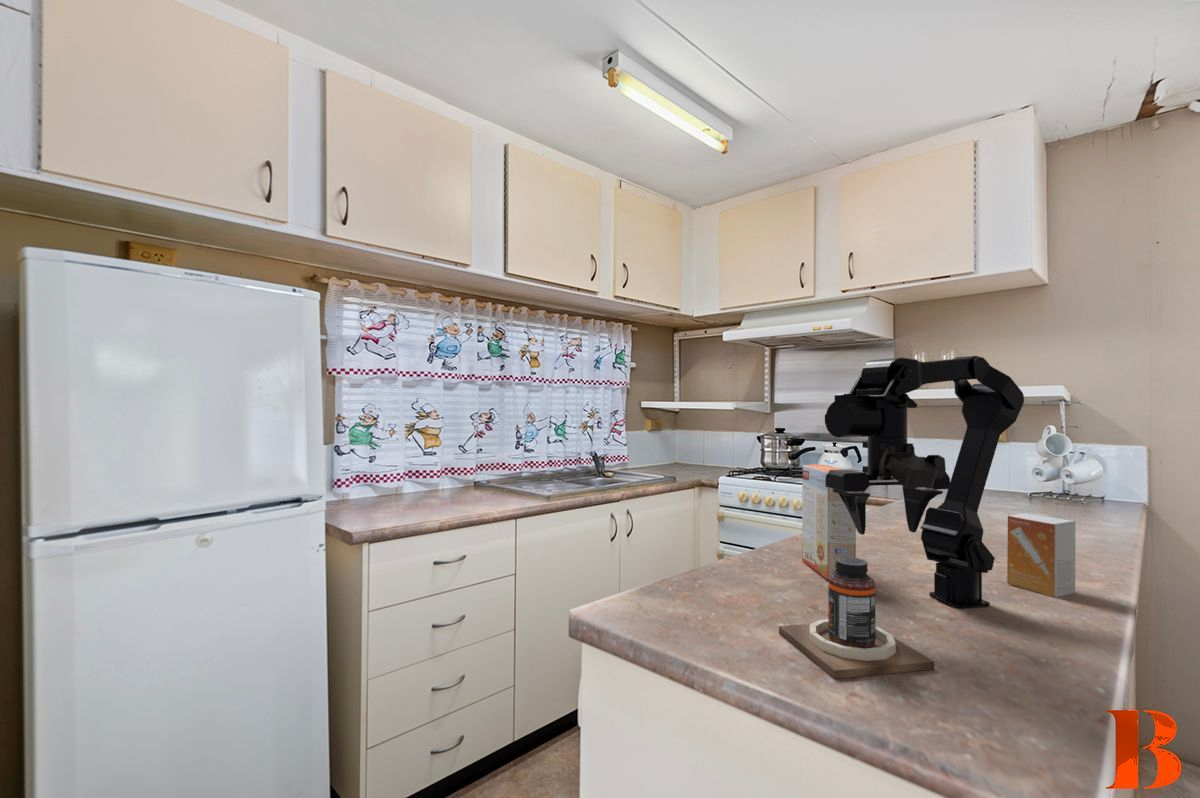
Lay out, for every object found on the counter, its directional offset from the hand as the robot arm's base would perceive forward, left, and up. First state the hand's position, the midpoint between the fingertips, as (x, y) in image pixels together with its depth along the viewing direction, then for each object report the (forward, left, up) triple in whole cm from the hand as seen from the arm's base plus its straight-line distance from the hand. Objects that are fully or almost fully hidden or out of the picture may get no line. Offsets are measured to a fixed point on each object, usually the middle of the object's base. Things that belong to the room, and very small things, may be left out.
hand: (887, 533), depth 91 cm
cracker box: (-4, -23, -13) cm, 27 cm away
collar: (+14, +11, -13) cm, 22 cm away
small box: (-36, -6, -13) cm, 39 cm away
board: (+14, +11, -13) cm, 22 cm away
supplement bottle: (+14, +11, -12) cm, 21 cm away
